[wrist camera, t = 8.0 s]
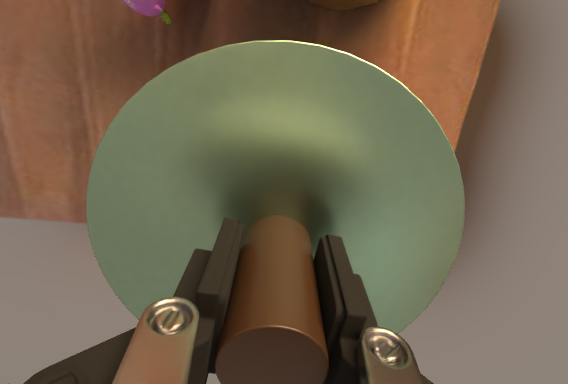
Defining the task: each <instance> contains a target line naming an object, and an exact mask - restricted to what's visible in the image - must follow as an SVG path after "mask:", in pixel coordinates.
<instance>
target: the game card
mask: <svg viewBox="0 0 568 384" xmlns="http://www.w3.org/2000/svg"><path fill="white" fill-rule="evenodd" d="M122 1H123V2H124V3H125V4H126V5H127V6H128V7H129V8H131V9H132V10H134V11H135V12H137V13H139V14H142V15H145V16H157V15H159V14H160V15H161V18H162V17H163V19H162V20H163V21H164V20H165V21H166V23H167V24H170V23H171V20H170V18H169V16H168V15H167V13H166V11H165V10H164V8H165V0H122Z"/></svg>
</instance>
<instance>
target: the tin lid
mask: <svg viewBox="0 0 568 384" xmlns="http://www.w3.org/2000/svg"><path fill="white" fill-rule="evenodd" d="M86 216H87V223H88V230H89V237H90V240H91V243H92V247H93V250H94V254H95V257H96V259H97V261H98V263H99V266H100V268H101V270H102V272H103V275H104V276H105V278H106V280H107V281H108V283H109V285H110V286H111V288H112V289H113V291H114V293H115V294H116V295H117V296H118V298H119V299H120V300H121V301H122V302H123V304H124V305H125V306H126V308H127V309H128V310H129V311H130V312H131V313H132V314H133V315H134V316H135V317H136V318H137V319H138V320H140V317H141V315H142V313H143V312H144V310H145V309H146V308H147V307H148V306H149V305H150V304H152V303H153V302H155V301H157V300H159V299H163V298H167V297H173V295H174V293H175V291H176V289H177V286H178V284H179V282H180V280H181V278H182V276H183V273H184V271H185V269H186V267H187V265H188V263H189V260H190V258H191V256H192V254H193V252H194V250H195V249H196V248H197V249H203V250H210V251H212V250H213V247H214V244H215V242H216V239H217V236H218V233H219V231H220V228H221V225H222V222H223V220H224V217H227V218H232V219H238V220H239V224H244V229H243V235H242V241H241V247H240V253H239V257H238V262H237V266H236V270H235V275H234V279H233V284H232V288H231V293H230V297H229V302H228V306H227V311H226V315H225V320H224V324H223V329H222V333H221V335H220V339H219V343H218V348H217V352H216V357H215V372H216V375H217V377H218V379H219V381H220V383H221V384H323V383H324V381H325V379H326V377H327V374H328V371H329V359H328V353H327V346H326V339H325V333H324V326H323V319H322V313H321V306H320V300H319V293H318V286H317V280H316V273H315V267H314V257H315V253H316V250H317V246H318V243H319V239H320V238H321V237H322V238H325V236H326V235H333V236H339V237H342V240H343V243H344V246H345V249H346V252H347V255H348V258H349V261H350V264H351V267H352V270H353V273H354V274H359V275H360V277H361V279H362V281H363V284H364V287H365V290H366V293H367V295H368V298H369V301H370V304H371V307H372V310H373V312H374V315H375V318H376V321H377V324H378V326H379V327H383V328H386V329H390V330H391V331H393V332H395V333H397V334H398V333H400V332H401V331H402V330H403V329H405V328H406V327H407V326H408V325H410V324H411V323H412V322H413V321H414V320H415V319H416V318H417V317H418V316H419V315H420V314H421V313H422V312H423V311H424V310H425V309H426V308H427V307H428V305H429V304H430V303H431V301H432V300H433V299H434V297H435V296H436V295H437V294H438V292H439V290H440V289H441V287H442V285H443V284H444V282H445V280H446V279H447V277H448V275H449V274H450V271H451V269H452V266H453V264H454V261H455V259H456V257H457V254H458V250H459V246H460V242H461V238H462V235H463V226H464V216H465V202H464V188H463V183H462V178H461V173H460V168H459V165H458V162H457V160H456V157H455V154H454V151H453V149H452V146H451V143H450V142H449V140H448V138H447V136H446V135H445V133H444V131H443V129H442V128H441V126H440V124H439V122H438V121H437V120H436V118H435V117H434V116H433V115H432V113H431V112H430V111H429V110H428V108H427V107H426V106H425V105H424V103H423V102H422V101H421V100H420V99H419V98H418V97H417V96H416V95H415V94H413V93H412V92H411V91H410V90H409V89H408V88H407V87H406V86H405V85H404V84H402V83H401V82H400V81H399V80H397V79H396V78H394V77H393V76H391V75H390V74H388V73H387V72H385V71H383V70H382V69H380V68H379V67H377V66H376V65H374V64H371V63H369V62H367V61H365V60H363V59H361V58H359V57H356V56H354V55H352V54H350V53H347V52H344V51H340V50H337V49H333V48H330V47H327V46H323V45H320V44H313V43H306V42H299V41H292V40H255V41H249V42H242V43H235V44H229V45H224V46H221V47H218V48H215V49H211V50H208V51H205V52H202V53H198V54H196V55H194V56H192V57H190V58H188V59H185V60H183V61H181V62H179V63H177V64H175V65H173V66H171V67H169V68H168V69H166V70H165V71H163V72H162V73H160V74H159V75H158V76H156V77H155V78H153V79H152V80H150V81H149V82H147V83H146V84H145V85H144V86H143V87H142V88H141V89H140V90H139V91H138V92H137V93H136V94H134V95H133V96H132V97H131V98H130V99H129V100H128V101H127V102H126V103H125V105H124V106H123V107H122V109H121V110H120V111H119V112H118V114H117V115H116V116H115V118H114V119H113V120H112V122H111V123H110V125H109V127H108V129H107V130H106V132H105V134H104V136H103V138H102V140H101V142H100V143H99V145H98V148H97V151H96V154H95V157H94V160H93V163H92V166H91V169H90V175H89V180H88V186H87V196H86Z"/></svg>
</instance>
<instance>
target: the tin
mask: <svg viewBox="0 0 568 384" xmlns="http://www.w3.org/2000/svg"><path fill="white" fill-rule="evenodd" d="M307 1H308V2H309V3H311V4H315V5H318V6H321V7H324V8H329V9H337V10H341V11H342V10H347V9H353V8H358V7H362V6H365V5H369V4H374V3H376V2H378V1H379V0H307Z"/></svg>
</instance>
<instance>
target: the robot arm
mask: <svg viewBox="0 0 568 384" xmlns="http://www.w3.org/2000/svg"><path fill="white" fill-rule="evenodd" d="M243 229H244V224H239V220H238V219H232V218H227V217H224V220H223V222H222V225H221V228H220V231H219V233H218V236H217V239H216V242H215V244H214V247H213V250H212V251H210V250H203V249H197V248H196V249H195V250H194V252H193V254H192V256H191V258H190V260H189V263H188V265H187V267H186V269H185V271H184V273H183V276H182V278H181V280H180V282H179V284H178V286H177V289H176V291H175V293H174V295H173V297H167V298H163V299H159V300H157V301H155V302H153V303H152V304H150V305H149V306H148V307H147V308H146V309H145V310H144V312H143V313H142V315H141V317H140V320H139V322H138V324H137V327H136V328H134V329H131V330H129V331H127V332H125V333H122V334H120V335H118V336H116V337H114V338H111V339H109V340H107V341H105V342H103V343H100V344H98V345H96V346H94V347H91V348H89V349H87V350H84V351H82V352H80V353H78V354H76V355H73V356H71V357H69V358H67V359H64V360H62V361H60V362H58V363H56V364H53V365H51V366H49V367H47V368H45V369H43V370H41V371H40V372H38V373H36V374H34V375H33V376H32V377H31V378H30V379H28V380H27V381H26V382H25V383H24V384H206V382H207V378H208V373H213V374H215V373H216V372H215V357H216V352H217V348H218V343H219V339H220V335H221V333H222V329H223V324H224V320H225V315H226V311H227V306H228V302H229V297H230V293H231V288H232V284H233V279H234V275H235V270H236V266H237V262H238V257H239V253H240V247H241V241H242V235H243ZM314 267H315V273H316V280H317V286H318V293H319V300H320V306H321V313H322V319H323V326H324V333H325V339H326V346H327V353H328V359H329V371H328V374H327V377H326V379H325V381H324V383H323V384H433V383H432V382H431V381H430V380H428V379H427V378H426V377H425V376H423V375H422V374H421V373H420V371H419V368H418V365H417V362H416V360H415V357H414V354H413V352H412V350H411V348H410V346H409V345H408V343H407V342H406V341H405V340H404V339H403V338H402V337H401V336H399V335H398V334H397V333H395V332H393V331H391V330H390V329H386V328H383V327H379V326H378V324H377V321H376V318H375V315H374V312H373V310H372V307H371V304H370V301H369V298H368V295H367V293H366V290H365V287H364V284H363V281H362V279H361V277H360V275H359V274H354V273H353V270H352V267H351V264H350V261H349V258H348V255H347V252H346V249H345V246H344V243H343V240H342V237H339V236H333V235H326V236H325V238H322V237H321V238H320V239H319V243H318V246H317V250H316V253H315V257H314Z"/></svg>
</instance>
